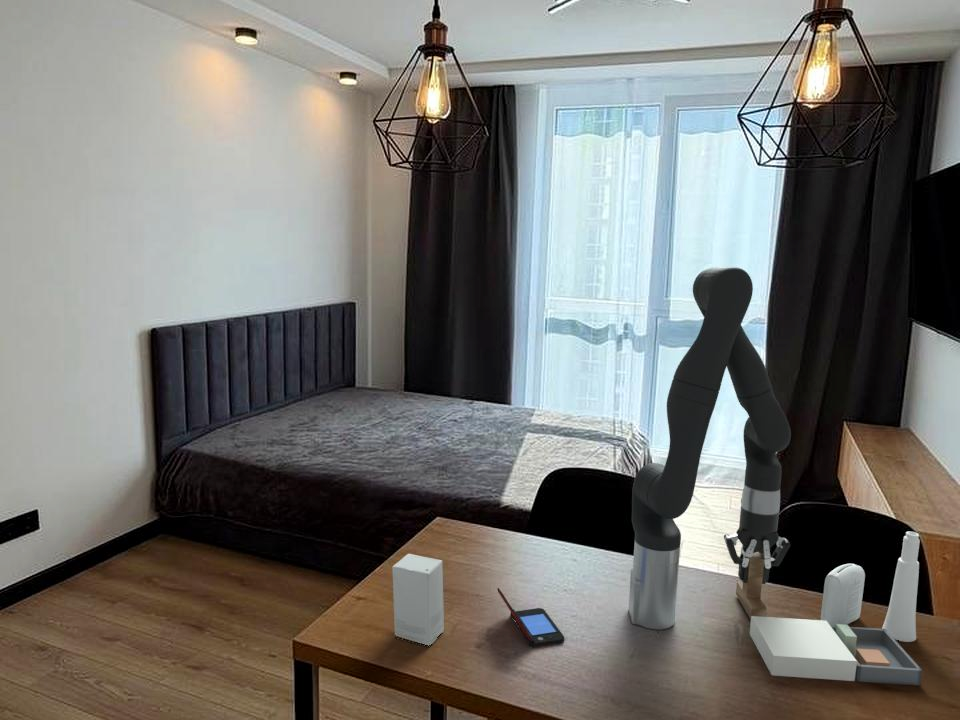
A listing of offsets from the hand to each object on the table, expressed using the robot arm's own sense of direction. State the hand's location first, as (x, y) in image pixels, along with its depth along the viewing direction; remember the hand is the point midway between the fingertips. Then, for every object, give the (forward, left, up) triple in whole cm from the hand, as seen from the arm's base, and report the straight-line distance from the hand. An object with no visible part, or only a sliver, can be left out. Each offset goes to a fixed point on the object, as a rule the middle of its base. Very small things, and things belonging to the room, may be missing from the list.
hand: (752, 581), depth 148 cm
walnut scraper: (0, 0, -6) cm, 6 cm away
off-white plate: (+4, -16, -7) cm, 18 cm away
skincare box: (-70, -18, -7) cm, 73 cm away
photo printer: (+18, -2, -7) cm, 19 cm away
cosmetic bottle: (+28, -6, -7) cm, 29 cm away
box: (+18, -16, -7) cm, 25 cm away
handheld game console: (-48, -13, -7) cm, 50 cm away
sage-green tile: (+13, -14, -4) cm, 19 cm away
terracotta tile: (+17, -19, -4) cm, 25 cm away
